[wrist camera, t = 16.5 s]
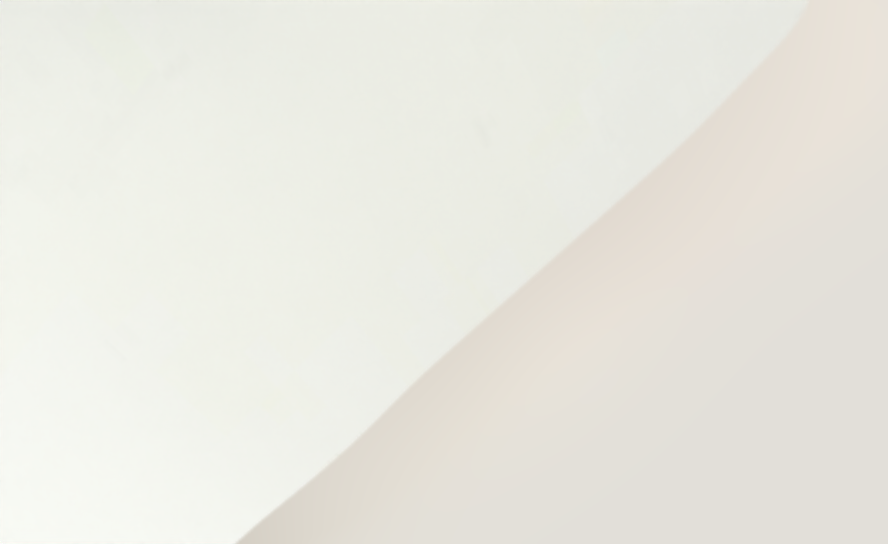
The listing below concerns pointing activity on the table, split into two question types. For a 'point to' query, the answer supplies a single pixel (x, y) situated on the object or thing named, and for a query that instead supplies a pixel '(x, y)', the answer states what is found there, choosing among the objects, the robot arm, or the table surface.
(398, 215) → the table surface
